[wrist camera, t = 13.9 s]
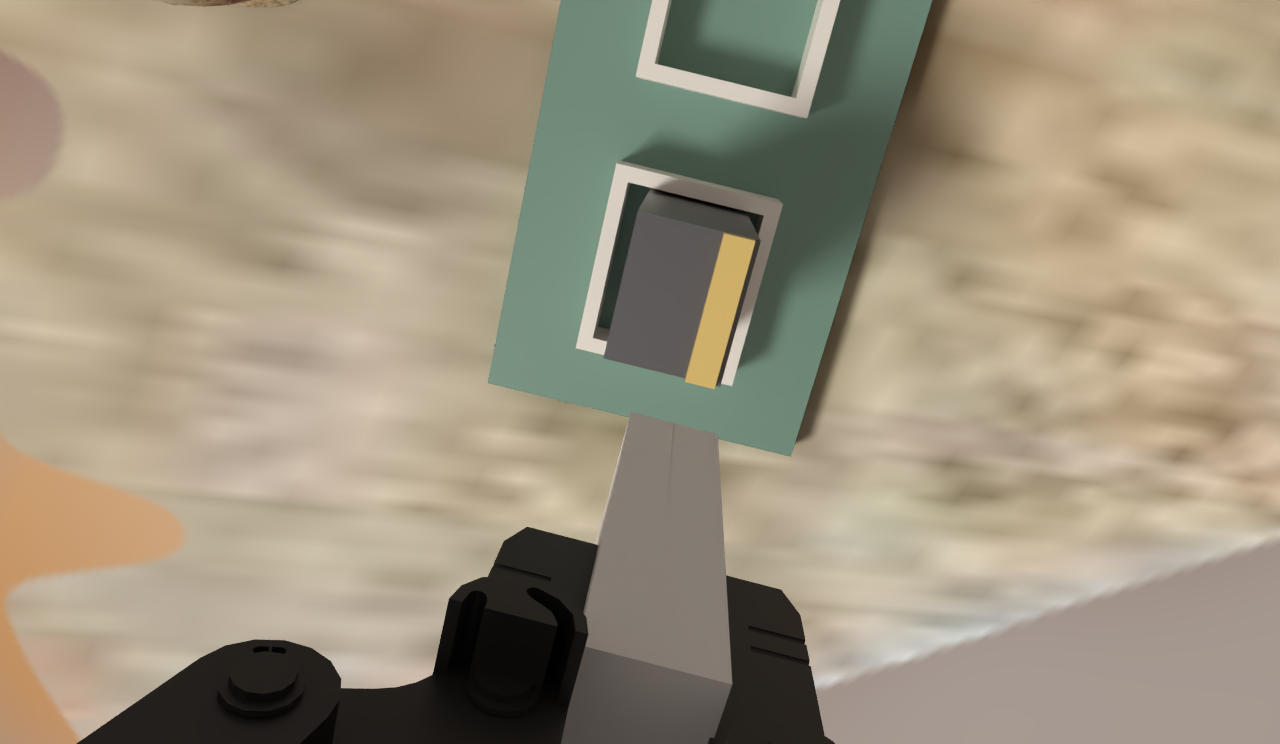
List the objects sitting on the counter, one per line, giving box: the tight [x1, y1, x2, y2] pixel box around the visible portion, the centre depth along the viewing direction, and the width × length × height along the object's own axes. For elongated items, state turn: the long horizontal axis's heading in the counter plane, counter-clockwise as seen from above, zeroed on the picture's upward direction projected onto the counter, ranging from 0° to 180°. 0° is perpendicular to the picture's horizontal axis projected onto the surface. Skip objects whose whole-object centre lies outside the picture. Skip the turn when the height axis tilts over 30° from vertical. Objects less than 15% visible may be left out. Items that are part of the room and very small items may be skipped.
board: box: [488, 0, 932, 457], centre depth 35 cm, size 24×14×3 cm, turn 167°
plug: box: [603, 188, 761, 389], centre depth 32 cm, size 5×4×9 cm
